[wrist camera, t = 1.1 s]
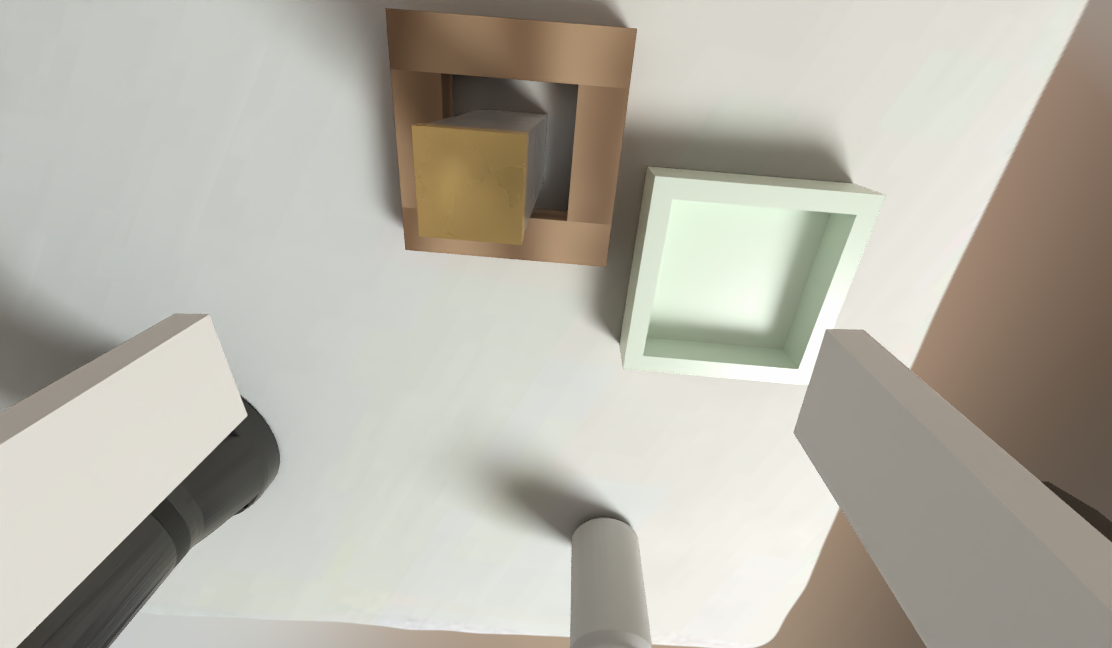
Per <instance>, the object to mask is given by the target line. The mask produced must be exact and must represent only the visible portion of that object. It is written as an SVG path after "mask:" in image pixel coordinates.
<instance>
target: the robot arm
mask: <svg viewBox="0 0 1112 648" xmlns="http://www.w3.org/2000/svg"><path fill="white" fill-rule="evenodd" d="M794 434H795V436H796V437H797V439H798V441H799V442H800V444H801V446H802V447H803V449H804V450H805V452H806V454H807V455H808V457H809V458H810V460H811V462H812V463H813V465H814V466H815V468H816V470H817V471H818V473H819V475H820V476H821V478H822V479H823V481H824V483H825V484H826V486H827V487H828V489H829V491H830V492H831V494H832V495H833V497H834V499H835V500H836V502H837V504H838V505H839V507H840V508H841V510H842V512H843V513H844V515H845V516H846V518H847V520H848V521H849V523H850V524H851V526H852V528H853V529H854V531H855V533H856V534H857V536H858V537H859V539H860V541H861V542H862V544H863V545H864V547H865V549H866V550H867V552H868V553H869V555H870V556H871V558H872V560H873V562H874V563H875V564H876V566H877V568H878V570H879V571H880V573H881V574H882V576H883V578H884V579H885V581H886V583H887V584H888V586H889V587H890V589H891V590H892V592H893V594H894V595H895V597H896V599H897V600H898V602H899V603H900V605H901V607H902V608H903V610H904V612H905V613H906V615H907V616H908V618H909V620H910V621H911V623H912V624H913V626H914V628H915V629H916V631H917V632H918V634H919V636H920V637H921V639H922V641H923V642H924V644H925V645H926V647H927V648H1112V522H1111V521H1109V520H1108V519H1107V518H1106V517H1105V516H1103V515H1102V514H1101V513H1100V512H1098V511H1097V510H1095V509H1094V508H1092V507H1090V506H1089V505H1087V504H1085V503H1083V502H1082V501H1080V500H1078V499H1077V498H1075V497H1073V496H1072V495H1070V494H1068V493H1066V492H1065V491H1063V490H1061V489H1060V488H1058V487H1056V486H1055V485H1053V484H1051V483H1049V482H1041V481H1039V480H1038V479H1037V478H1036V477H1035V476H1033V475H1032V474H1031V473H1030V472H1029V471H1028V470H1027V469H1025V468H1024V467H1023V466H1022V465H1021V464H1020V463H1018V462H1017V461H1016V460H1015V459H1014V458H1013V457H1011V456H1010V455H1009V454H1008V453H1007V452H1006V451H1004V450H1003V449H1002V448H1001V447H1000V446H999V445H997V444H996V443H995V442H994V441H993V440H991V439H990V438H989V437H988V436H987V435H986V434H984V433H983V432H982V431H981V430H980V429H979V428H978V427H976V426H975V425H974V424H973V423H972V422H971V421H969V420H968V419H967V418H966V417H965V416H964V415H962V414H961V413H960V412H959V411H958V410H957V409H955V408H954V407H953V406H952V405H951V404H949V403H948V402H947V401H946V400H945V399H943V398H942V397H941V396H940V395H939V394H938V393H937V392H936V391H934V390H933V389H932V388H931V387H930V386H928V385H927V384H926V383H925V382H924V381H923V380H921V379H920V378H919V377H918V376H917V375H916V374H914V373H913V372H912V371H911V370H910V369H909V368H908V367H906V366H905V365H904V364H903V363H902V362H901V361H899V360H898V359H897V358H896V357H895V356H894V355H892V354H891V353H890V352H889V351H888V350H887V349H885V348H884V347H883V346H882V345H881V344H880V343H878V342H877V341H876V340H875V339H874V338H873V337H871V336H870V335H869V334H868V333H867V332H866V331H864V330H847V329H826V330H825V333H824V337H823V340H822V343H821V346H820V349H819V353H818V356H817V359H816V362H815V365H814V369H813V372H812V375H811V378H810V381H809V385H808V388H807V391H806V394H805V397H804V401H803V404H802V407H801V410H800V413H799V417H798V420H797V423H796V426H795V430H794ZM279 465H280V454H279V449H278V445H277V442H276V439H275V437H274V435H273V433H272V431H271V430H270V428H269V426H268V425H267V423H266V422H265V421H264V420H263V418H262V417H261V416H260V415H259V414H258V413H257V412H256V411H255V410H254V409H253V408H252V407H251V406H250V405H249V404H248V403H247V402H246V401H244V400H243V399H242V398H241V397H240V394H239V391H238V389H237V386H236V383H235V381H234V378H233V376H232V373H231V370H230V368H229V365H228V362H227V360H226V357H225V355H224V352H223V349H222V347H221V344H220V341H219V339H218V336H217V334H216V331H215V328H214V326H213V323H212V320H211V318H210V315H209V314H173V315H172V316H170V317H168V318H166V319H165V320H163V321H161V322H159V323H157V324H156V325H154V326H152V327H150V328H149V329H147V330H145V331H143V332H142V333H140V334H138V335H136V336H135V337H133V338H131V339H129V340H128V341H126V342H124V343H122V344H121V345H119V346H117V347H115V348H113V349H112V350H110V351H108V352H106V353H105V354H103V355H101V356H99V357H98V358H96V359H94V360H92V361H91V362H89V363H87V364H85V365H84V366H82V367H80V368H78V369H77V370H75V371H73V372H71V373H69V374H68V375H66V376H64V377H62V378H61V379H59V380H57V381H55V382H54V383H52V384H50V385H48V386H47V387H45V388H43V389H41V390H40V391H38V392H36V393H34V394H33V395H31V396H29V397H27V398H25V399H24V400H22V401H20V402H18V403H17V404H15V405H13V406H11V407H10V408H8V409H6V410H4V411H3V412H1V413H0V648H109V646H110V645H111V644H112V643H113V642H114V641H115V639H116V638H117V637H118V636H119V634H120V633H121V632H122V631H123V630H124V628H125V627H126V626H127V625H128V624H129V622H130V621H131V620H132V619H133V617H134V616H135V615H136V614H137V613H138V612H139V610H140V609H141V608H142V607H143V605H144V604H145V603H146V602H147V601H148V599H149V598H150V597H151V596H152V595H153V593H154V592H155V591H156V590H157V589H158V587H159V586H160V585H161V584H162V583H163V581H164V580H165V579H166V578H167V576H168V575H169V574H170V573H171V572H172V570H173V569H174V568H175V567H176V566H177V564H178V563H179V562H180V561H181V560H182V558H183V557H184V556H185V555H186V554H187V553H188V551H189V550H190V549H191V548H192V547H193V546H194V545H196V544H197V543H198V542H200V541H201V540H203V539H204V538H205V537H207V536H208V535H209V534H211V533H212V532H213V531H215V530H216V529H217V528H219V527H220V526H221V525H222V524H223V523H225V522H226V521H227V520H228V519H229V518H231V517H232V516H234V515H236V514H239V513H241V512H243V511H244V510H246V509H247V508H249V507H250V506H251V505H253V504H254V503H255V502H256V501H257V500H258V499H259V498H260V497H261V495H262V494H263V493H264V491H265V490H266V489H267V488H268V486H269V485H270V484H271V482H272V481H273V480H274V478H275V477H276V475H277V472H278V469H279Z"/></svg>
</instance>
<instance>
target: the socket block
mask: <svg viewBox="0 0 1112 648" xmlns="http://www.w3.org/2000/svg"><path fill="white" fill-rule="evenodd" d="M386 20H387V32H388V44H389V57H390V69H391V81H392V93H393V105H394V117H395V129H396V141H397V153H398V165H399V177H400V190H401V202H402V214H403V226H404V238H405V250H414V251H426V252H437V253H449V254H461V255H473V256H484V257H496V258H508V259H519V260H531V261H543V262H555V263H566V264H578V265H590V266H601V267H606V263H607V255H608V248H609V240H610V232H611V225H612V217H613V209H614V202H615V194H616V186H617V179H618V171H619V163H620V156H621V148H622V140H623V133H624V125H625V117H626V110H627V102H628V94H629V87H630V79H631V71H632V64H633V56H634V48H635V41H636V33H637V29H635V28H623V27H610V26H598V25H586V24H573V23H561V22H549V21H536V20H524V19H511V18H499V17H487V16H474V15H462V14H450V13H437V12H425V11H413V10H400V9H388V8H386ZM452 74H456V75H469V76H481V77H493V78H505V79H517V80H530V81H542V82H554V83H566V84H578V97H577V109H576V121H575V133H574V145H573V156H572V168H571V180H570V192H569V204H568V211H559V210H547V209H535V208H533V211H532V213H531V216H530V219H529V221H528V224H527V227H526V229H525V232H524V239H523V242H522V244H521V245H513V244H502V243H490V242H478V241H466V240H455V239H443V238H431V237H419V228H418V213H417V198H416V183H415V169H414V154H413V139H412V125H415V124H419V123H423V124H426V123H430V122H434V121H438V120H442V119H446V118H449V117H453V84H452Z"/></svg>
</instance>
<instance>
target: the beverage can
mask: <svg viewBox="0 0 1112 648" xmlns="http://www.w3.org/2000/svg"><path fill="white" fill-rule="evenodd" d="M570 648H652V642H651V635H650V627H649V619H648V612H647V604H646V596H645V589H644V581H643V573H642V566H641V558H640V550H639V543H638V537H637V534H636V533H635V531H634V530H633V529H632V528H631V527H630V526H629V525H627V524H626V523H624V522H622V521H619V520H616V519H613V518H607V517H599V518H594V519H591V520H589V521H587V522H585V523H584V524H582V525H581V526H579V527H578V528H577V529H576V531H575V532H574V534H573V537H572V557H571V624H570Z"/></svg>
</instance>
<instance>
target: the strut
mask: <svg viewBox="0 0 1112 648" xmlns="http://www.w3.org/2000/svg"><path fill="white" fill-rule="evenodd" d="M546 128H547V114H535V113H523V112H511V111H499V110H487V109H480V110H476V111H473V112H469V113H465V114H461V115H457V116H453V117H449V118H446V119H442V120H438V121H434V122H430V123H426V124H423V123H419V124H415V125H412V139H413V154H414V169H415V183H416V198H417V213H418V228H419V237H431V238H443V239H455V240H466V241H478V242H490V243H502V244H513V245H521V244H522V242H523V239H524V232H525V229H526V227H527V224H528V221H529V219H530V216H531V213H532V211H533V208H534V206H535V203H536V200H537V198H538V195H539V192H540V190H541V187H542V184H543V180H544V163H545V146H546Z"/></svg>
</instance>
